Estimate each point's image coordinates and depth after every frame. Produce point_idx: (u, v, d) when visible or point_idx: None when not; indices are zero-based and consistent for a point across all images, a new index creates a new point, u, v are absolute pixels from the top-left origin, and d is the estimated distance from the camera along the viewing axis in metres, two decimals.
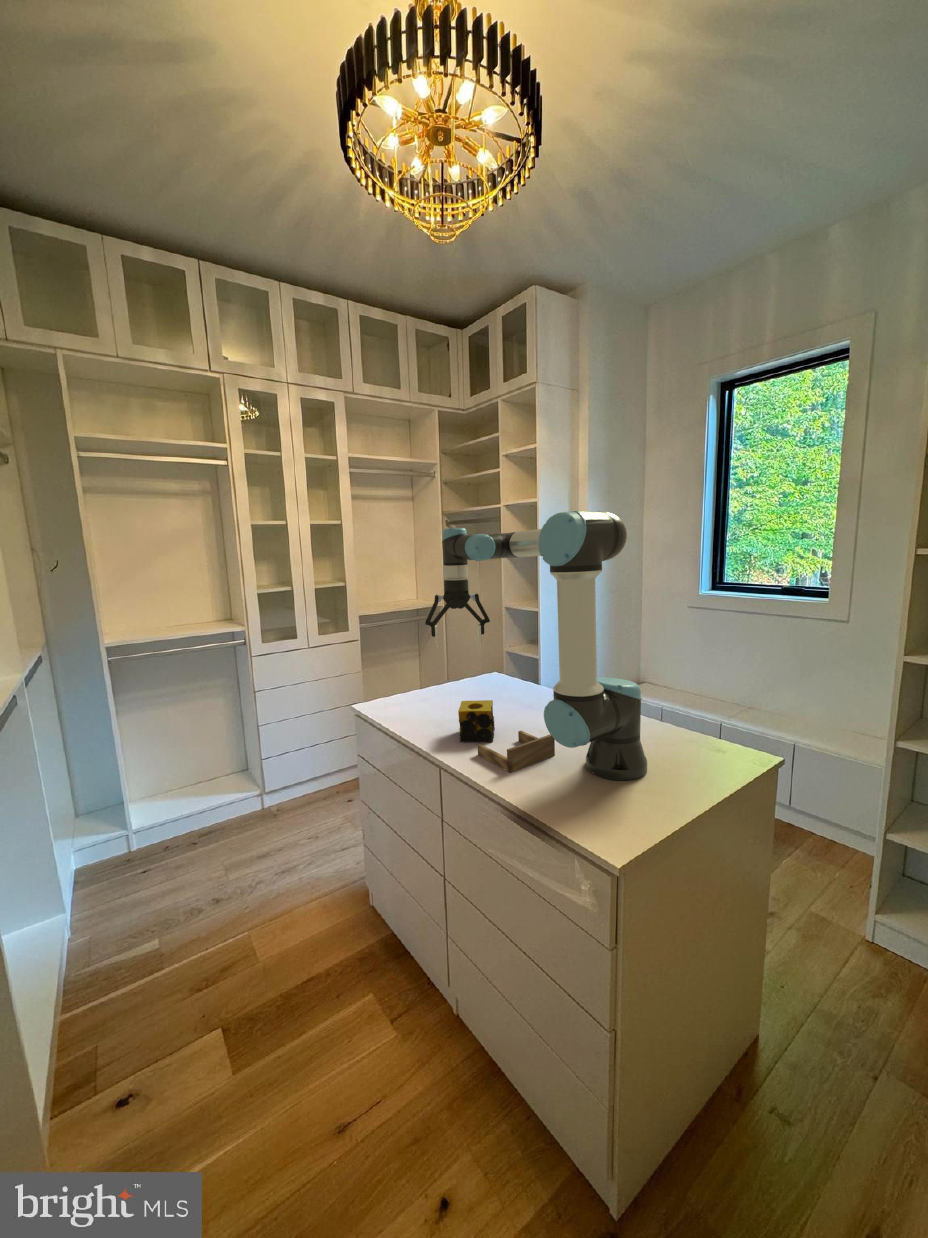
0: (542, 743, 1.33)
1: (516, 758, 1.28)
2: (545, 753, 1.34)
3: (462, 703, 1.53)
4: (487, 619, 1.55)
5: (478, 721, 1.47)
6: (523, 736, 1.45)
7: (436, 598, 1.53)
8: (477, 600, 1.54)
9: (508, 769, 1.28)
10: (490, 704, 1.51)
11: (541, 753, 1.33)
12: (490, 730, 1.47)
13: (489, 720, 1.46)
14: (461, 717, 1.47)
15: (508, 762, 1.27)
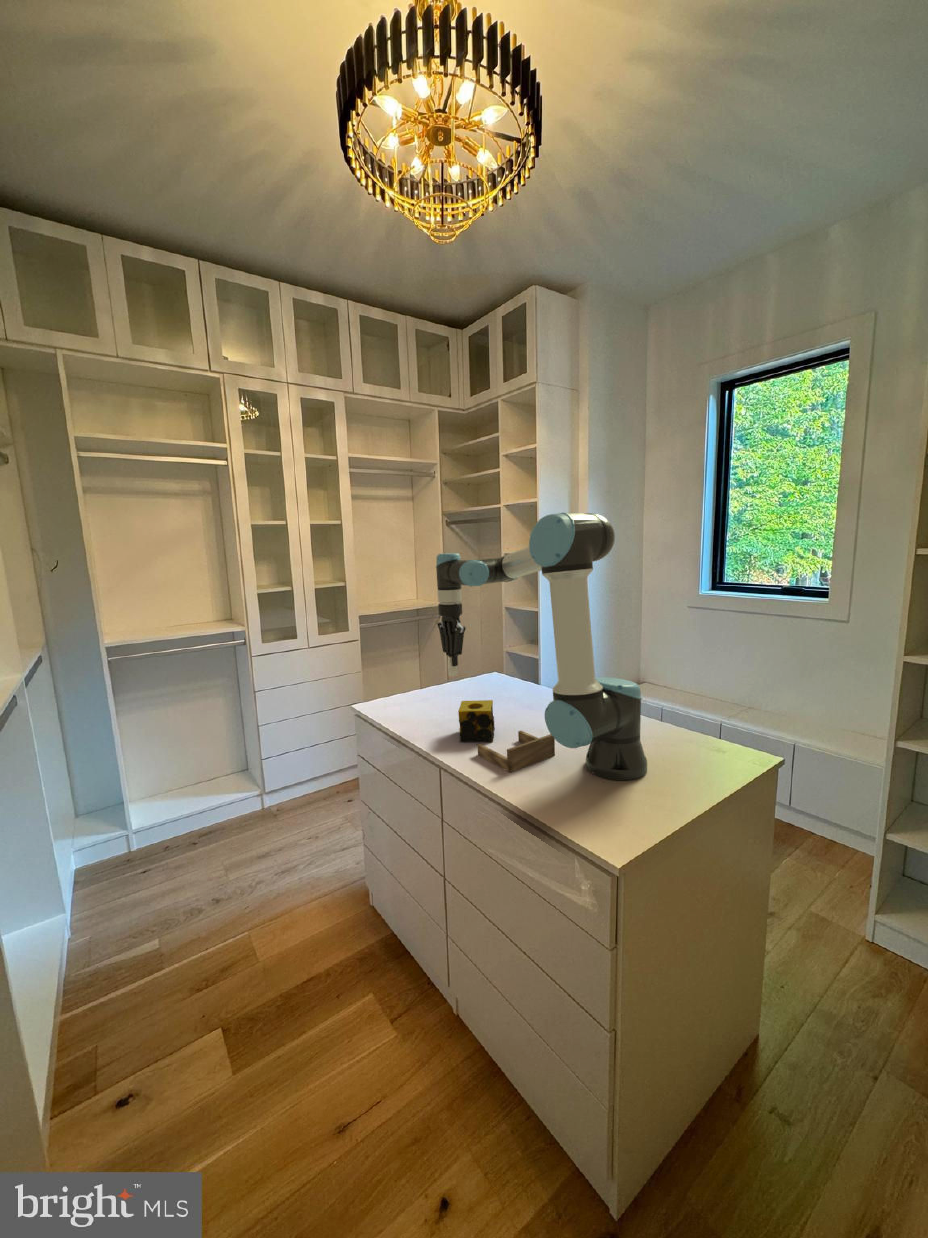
0: (542, 743, 1.33)
1: (516, 758, 1.28)
2: (545, 753, 1.34)
3: (462, 703, 1.53)
4: (454, 652, 1.55)
5: (478, 721, 1.47)
6: (523, 736, 1.45)
7: (438, 625, 1.61)
8: (456, 632, 1.53)
9: (508, 769, 1.28)
10: (490, 704, 1.51)
11: (541, 753, 1.33)
12: (490, 730, 1.47)
13: (489, 720, 1.46)
14: (461, 717, 1.47)
15: (508, 762, 1.27)
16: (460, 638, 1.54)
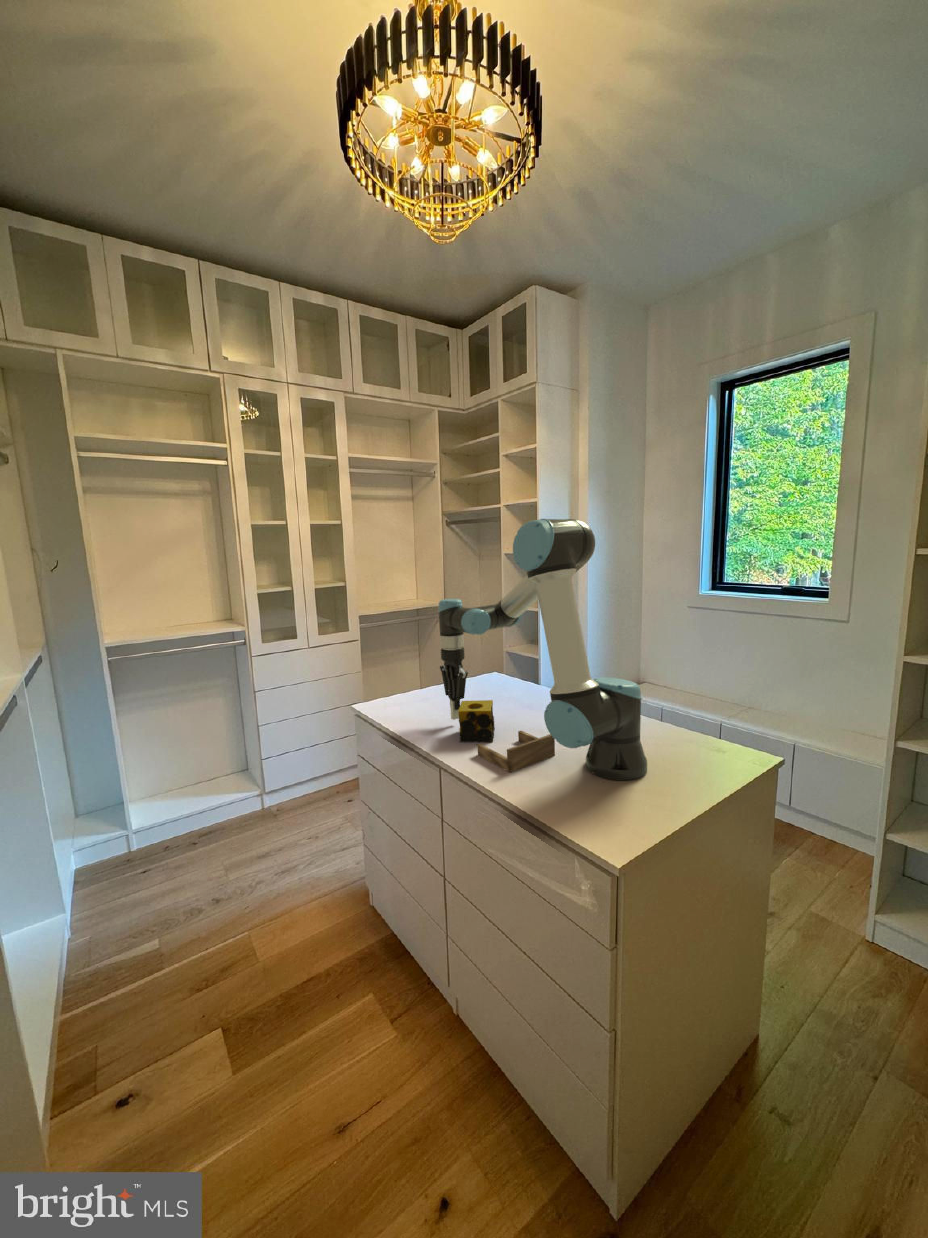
0: (542, 743, 1.33)
1: (516, 758, 1.28)
2: (545, 753, 1.34)
3: (462, 703, 1.53)
4: (456, 697, 1.57)
5: (478, 721, 1.47)
6: (523, 736, 1.45)
7: (441, 668, 1.63)
8: (459, 677, 1.55)
9: (508, 769, 1.28)
10: (490, 704, 1.51)
11: (541, 753, 1.33)
12: (490, 730, 1.47)
13: (489, 720, 1.46)
14: (461, 717, 1.47)
15: (508, 762, 1.27)
16: (462, 683, 1.56)
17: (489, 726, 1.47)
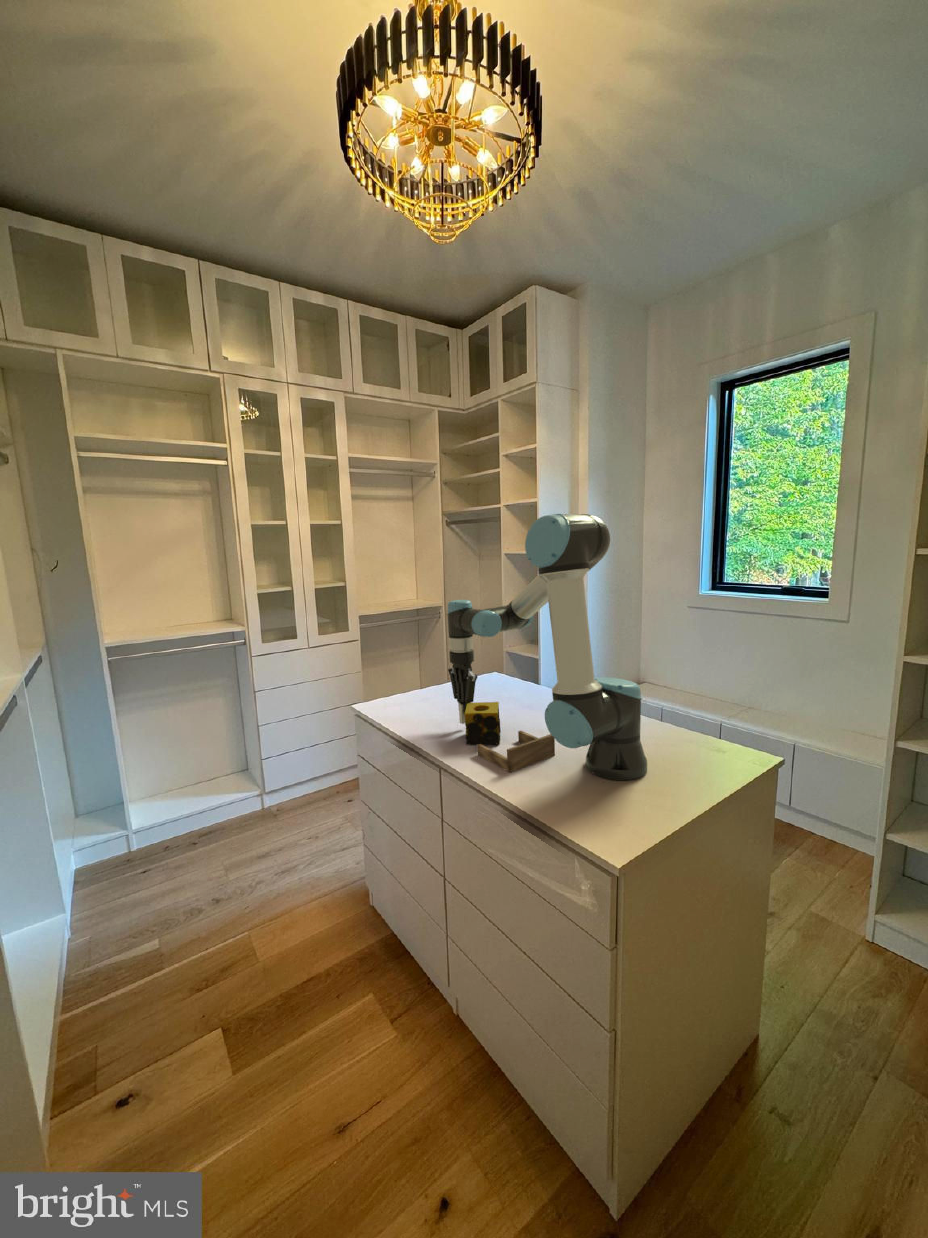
0: (542, 743, 1.33)
1: (516, 758, 1.28)
2: (545, 753, 1.34)
3: (468, 705, 1.51)
4: (465, 700, 1.53)
5: (484, 724, 1.44)
6: (523, 736, 1.45)
7: (449, 671, 1.59)
8: (468, 681, 1.51)
9: (508, 769, 1.28)
10: (496, 706, 1.49)
11: (541, 753, 1.33)
12: (497, 732, 1.44)
13: (496, 722, 1.44)
14: (468, 719, 1.44)
15: (508, 762, 1.27)
16: (472, 686, 1.52)
17: (496, 728, 1.44)
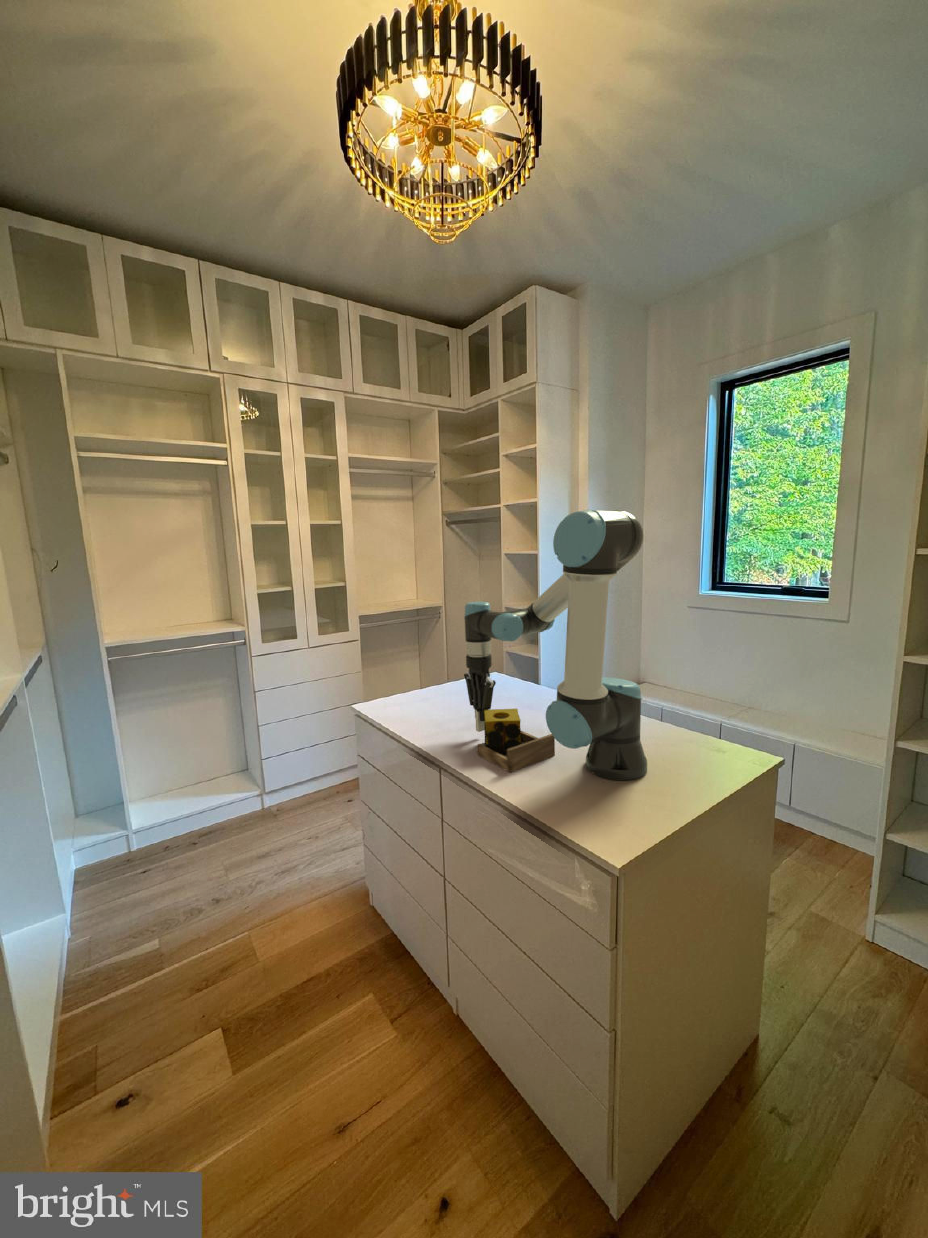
0: (542, 743, 1.33)
1: (516, 758, 1.28)
2: (545, 753, 1.34)
3: (486, 712, 1.43)
4: (483, 707, 1.46)
5: (506, 732, 1.37)
6: (523, 736, 1.45)
7: (465, 676, 1.51)
8: (486, 687, 1.43)
9: (508, 769, 1.28)
10: (516, 713, 1.42)
11: (541, 753, 1.33)
12: (519, 741, 1.37)
13: (518, 730, 1.37)
14: (489, 727, 1.37)
15: (508, 762, 1.27)
16: (489, 693, 1.44)
17: (518, 737, 1.37)
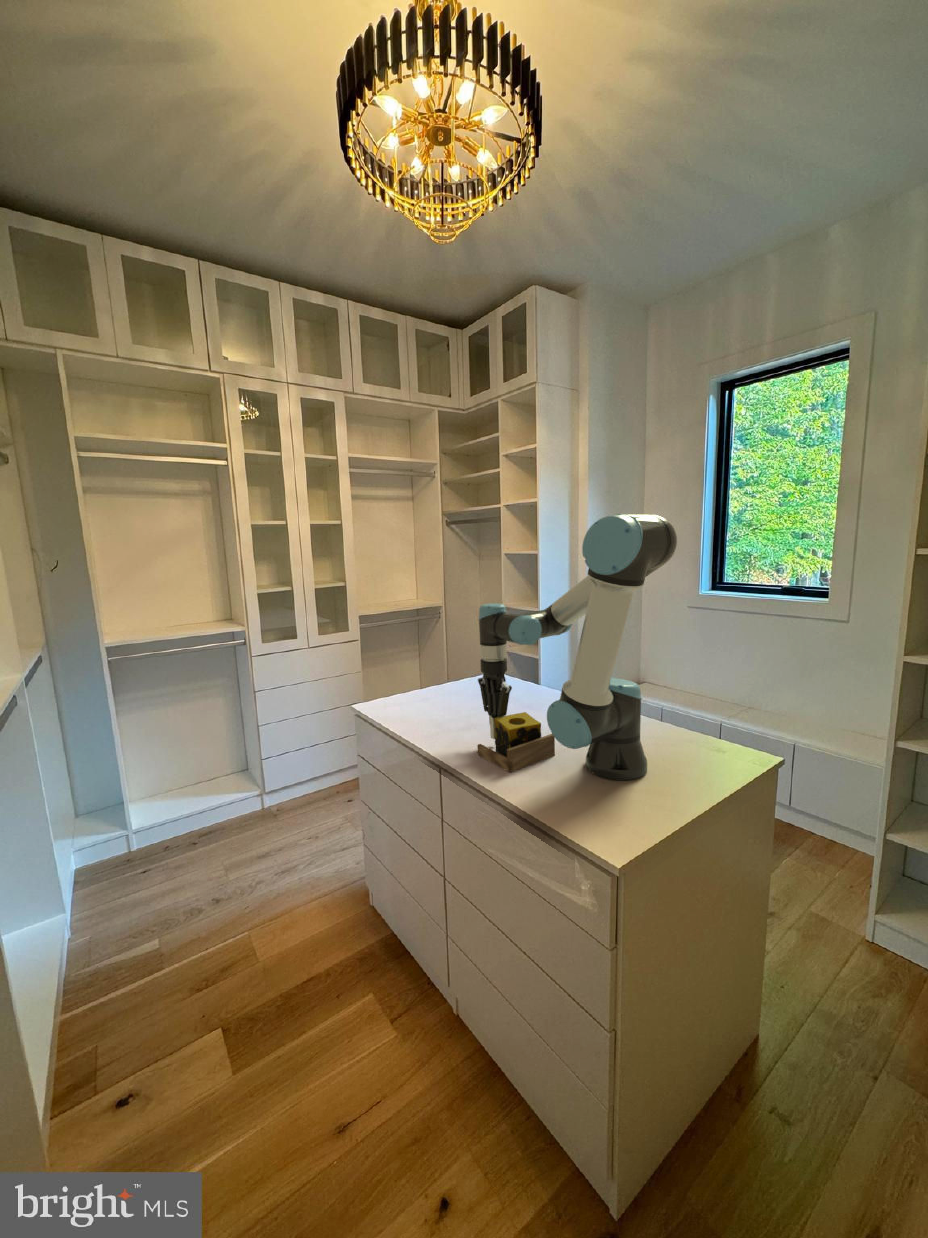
0: (542, 743, 1.33)
1: (516, 758, 1.28)
2: (545, 753, 1.34)
3: (499, 720, 1.37)
4: (498, 714, 1.40)
5: (528, 737, 1.33)
6: None
7: (479, 681, 1.46)
8: (501, 692, 1.37)
9: (508, 769, 1.28)
10: (530, 716, 1.39)
11: (541, 753, 1.33)
12: None
13: (539, 734, 1.34)
14: (512, 735, 1.31)
15: (508, 762, 1.27)
16: (505, 698, 1.38)
17: None
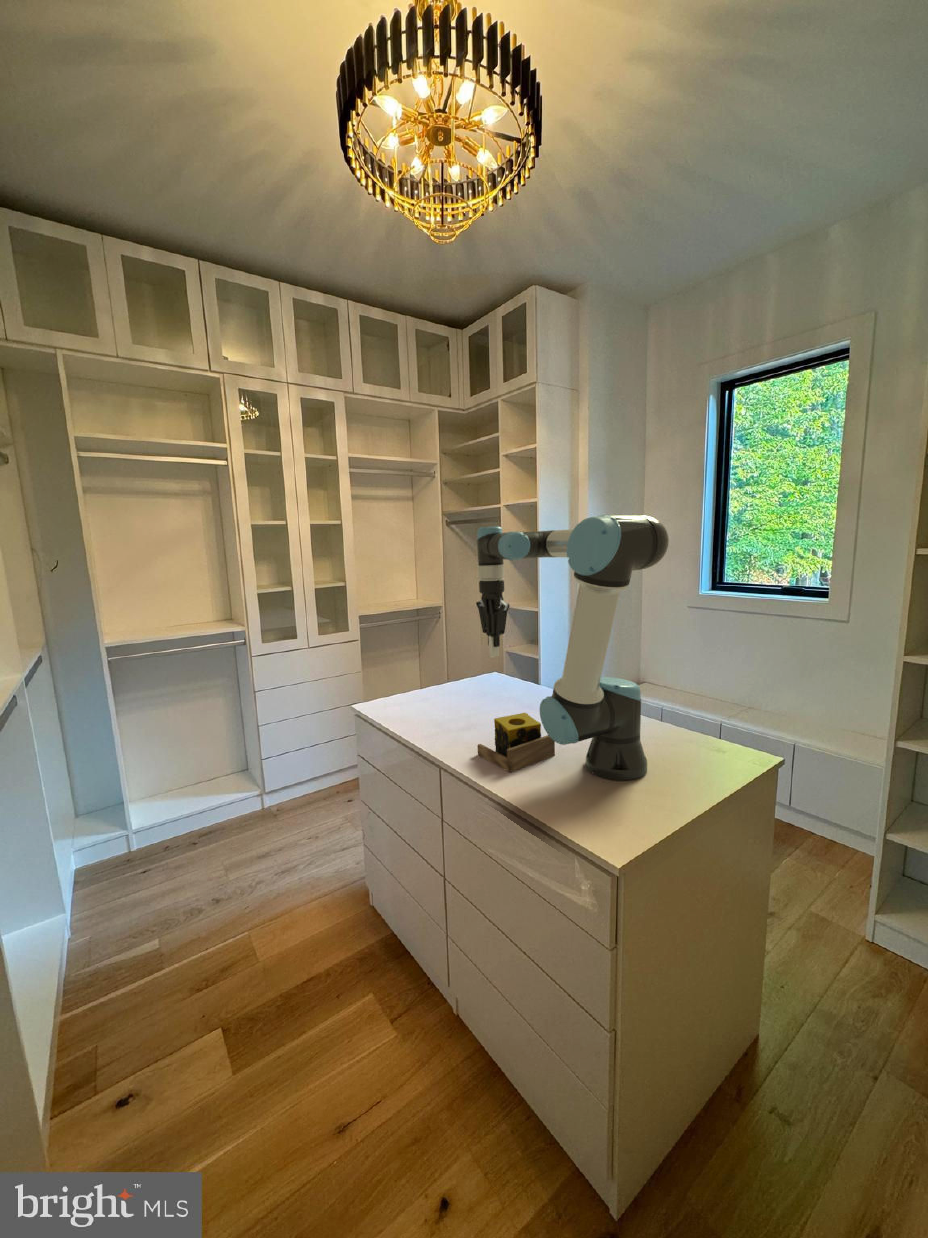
0: (542, 743, 1.33)
1: (516, 758, 1.28)
2: (545, 753, 1.34)
3: (499, 721, 1.37)
4: (497, 632, 1.47)
5: (528, 738, 1.33)
6: None
7: (477, 604, 1.53)
8: (500, 610, 1.44)
9: (508, 769, 1.28)
10: (530, 717, 1.39)
11: (541, 753, 1.33)
12: None
13: (539, 734, 1.34)
14: (512, 736, 1.31)
15: (508, 762, 1.27)
16: (503, 616, 1.46)
17: None
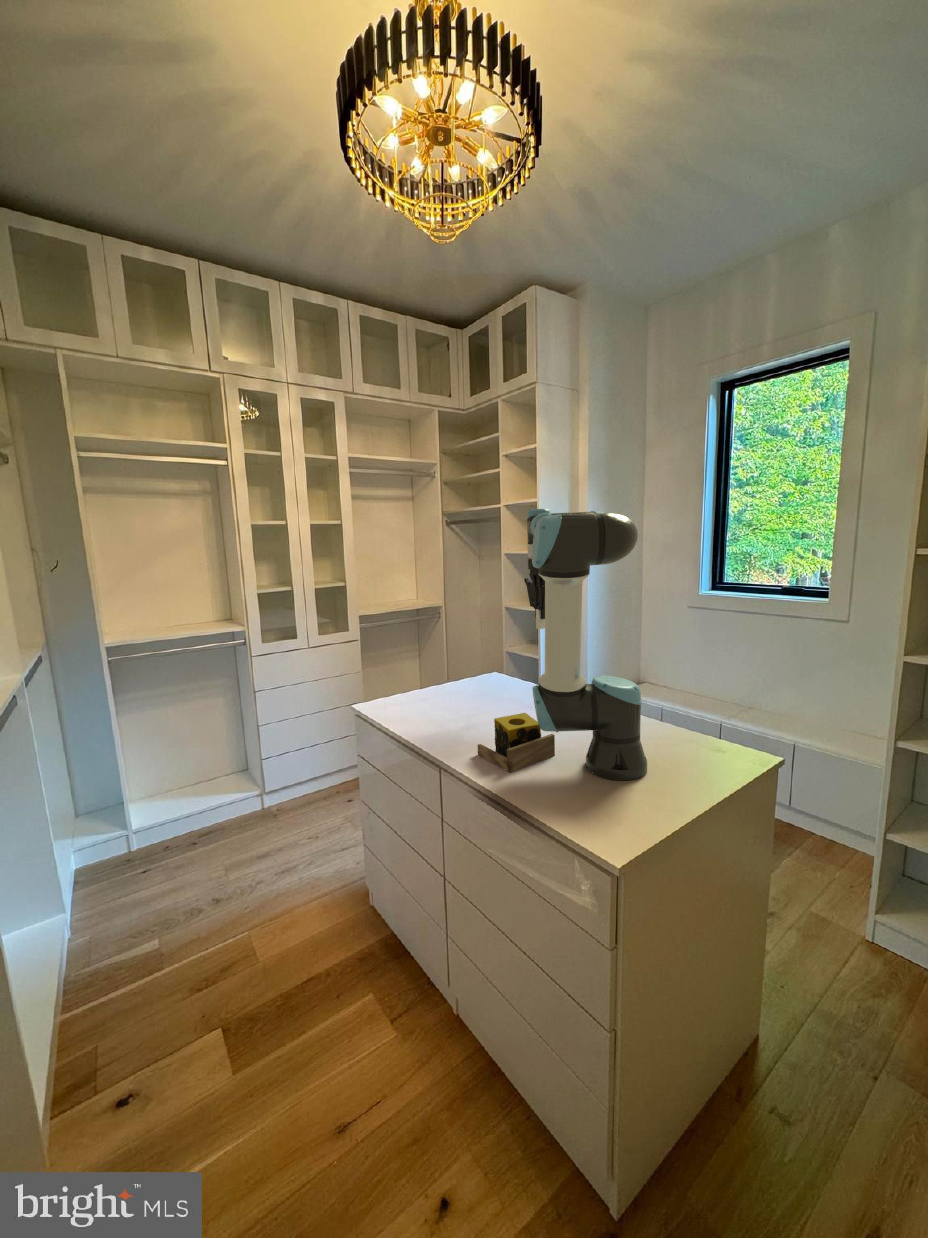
0: (542, 743, 1.33)
1: (516, 758, 1.28)
2: (545, 753, 1.34)
3: (499, 721, 1.37)
4: (544, 605, 1.61)
5: (528, 738, 1.33)
6: None
7: (525, 581, 1.67)
8: None
9: (508, 769, 1.28)
10: (530, 717, 1.39)
11: (541, 753, 1.33)
12: None
13: (539, 734, 1.34)
14: (512, 736, 1.31)
15: (508, 762, 1.27)
16: None
17: None
